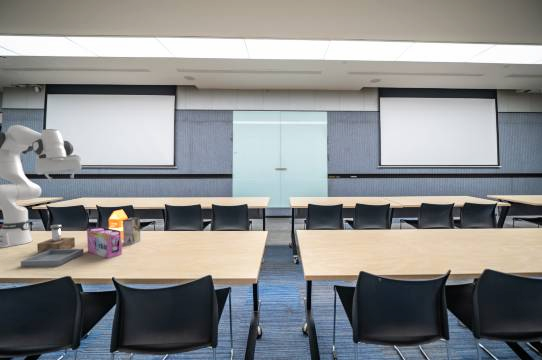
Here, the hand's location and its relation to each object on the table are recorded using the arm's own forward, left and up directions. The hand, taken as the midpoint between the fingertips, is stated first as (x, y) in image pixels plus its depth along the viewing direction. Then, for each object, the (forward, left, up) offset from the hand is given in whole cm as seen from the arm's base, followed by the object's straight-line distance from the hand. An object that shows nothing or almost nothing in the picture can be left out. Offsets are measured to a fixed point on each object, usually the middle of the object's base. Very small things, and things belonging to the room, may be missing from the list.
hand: (61, 179), depth 139 cm
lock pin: (-9, +6, -43) cm, 45 cm away
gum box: (+22, 0, -44) cm, 49 cm away
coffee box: (+28, +20, -44) cm, 56 cm away
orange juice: (+14, +30, -44) cm, 55 cm away
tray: (+2, -10, -43) cm, 44 cm away
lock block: (-9, +6, -43) cm, 45 cm away
